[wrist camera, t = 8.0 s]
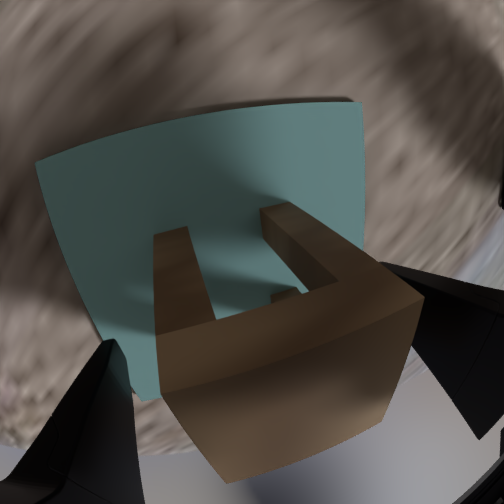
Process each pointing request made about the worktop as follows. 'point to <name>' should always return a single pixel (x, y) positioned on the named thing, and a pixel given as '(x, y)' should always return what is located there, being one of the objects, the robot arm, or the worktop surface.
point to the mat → (199, 209)
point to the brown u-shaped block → (281, 348)
